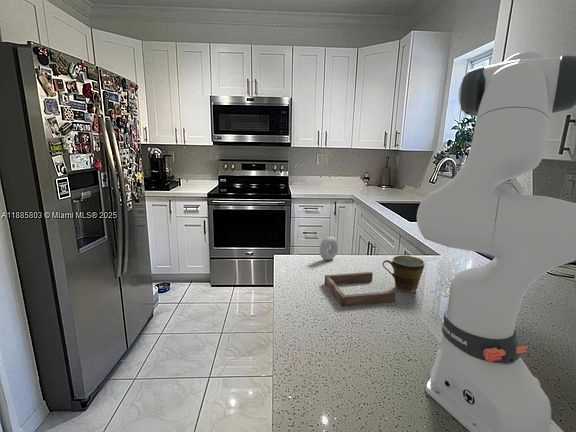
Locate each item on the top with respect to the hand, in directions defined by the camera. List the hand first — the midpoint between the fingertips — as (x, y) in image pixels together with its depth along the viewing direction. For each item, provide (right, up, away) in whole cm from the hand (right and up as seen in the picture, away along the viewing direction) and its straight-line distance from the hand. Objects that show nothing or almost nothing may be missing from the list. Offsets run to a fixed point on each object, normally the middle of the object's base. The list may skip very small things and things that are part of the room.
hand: (468, 211), depth 106 cm
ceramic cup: (-23, -26, 0) cm, 35 cm away
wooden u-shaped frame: (-37, -26, -3) cm, 46 cm away
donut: (-44, -20, +26) cm, 55 cm away
